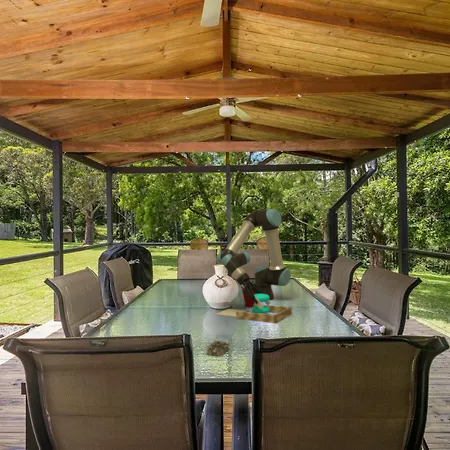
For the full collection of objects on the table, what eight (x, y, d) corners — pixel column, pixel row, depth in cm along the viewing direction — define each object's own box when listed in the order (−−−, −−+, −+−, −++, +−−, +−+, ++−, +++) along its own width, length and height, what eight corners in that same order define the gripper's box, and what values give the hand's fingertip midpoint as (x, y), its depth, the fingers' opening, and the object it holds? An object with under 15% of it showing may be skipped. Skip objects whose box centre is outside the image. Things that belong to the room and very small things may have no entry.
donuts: (250, 293, 228) (266, 293, 230) (250, 310, 228) (266, 310, 230) (254, 296, 218) (271, 296, 220) (254, 314, 218) (271, 313, 220)
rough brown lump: (221, 357, 156) (221, 347, 156) (204, 355, 158) (204, 345, 158) (231, 349, 165) (231, 339, 165) (215, 347, 168) (215, 338, 168)
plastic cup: (247, 304, 260) (246, 286, 260) (261, 306, 254) (260, 287, 254) (238, 307, 251) (237, 288, 251) (252, 309, 245) (252, 289, 245)
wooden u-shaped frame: (236, 318, 219) (236, 311, 219) (254, 310, 240) (254, 304, 240) (276, 323, 208) (276, 315, 208) (291, 314, 229) (291, 307, 229)
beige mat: (215, 314, 231) (215, 314, 231) (228, 309, 245) (228, 308, 245) (236, 317, 224) (236, 316, 224) (248, 311, 238) (248, 310, 238)
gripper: (245, 278, 241) (269, 306, 234) (227, 283, 222) (253, 314, 214) (253, 270, 239) (277, 298, 231) (236, 274, 219) (261, 305, 211)
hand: (265, 305), depth 222 cm, fingers closed on donuts, 10 cm apart
